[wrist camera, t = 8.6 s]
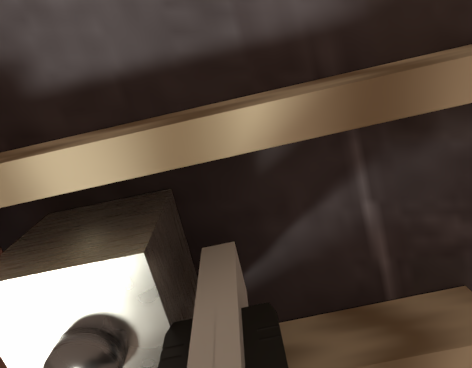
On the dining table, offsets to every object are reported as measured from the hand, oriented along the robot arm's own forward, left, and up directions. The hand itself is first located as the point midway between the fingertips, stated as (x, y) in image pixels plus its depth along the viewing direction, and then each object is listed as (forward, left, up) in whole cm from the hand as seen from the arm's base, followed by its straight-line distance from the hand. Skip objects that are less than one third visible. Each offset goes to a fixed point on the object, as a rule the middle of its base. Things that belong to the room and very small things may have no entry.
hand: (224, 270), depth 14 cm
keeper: (-5, 0, -2) cm, 5 cm away
